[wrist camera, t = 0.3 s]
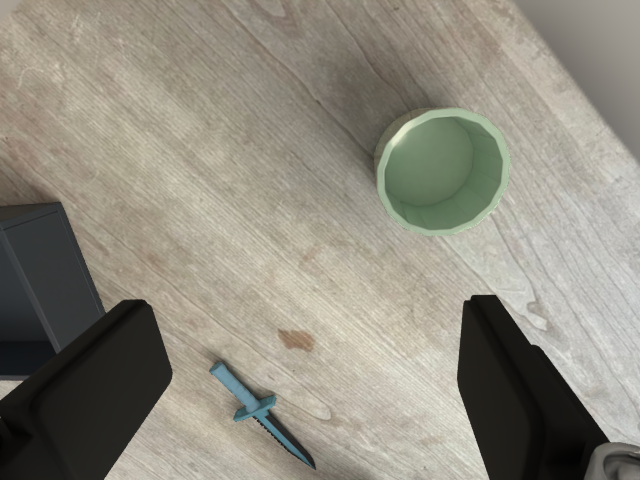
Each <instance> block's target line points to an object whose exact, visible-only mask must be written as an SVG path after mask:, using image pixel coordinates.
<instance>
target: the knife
mask: <svg viewBox="0 0 640 480" xmlns="http://www.w3.org/2000/svg"><path fill="white" fill-rule="evenodd" d="M209 372H210V373H211V374H212V375H214V376H215V377H216V378H217V379H218V380H219V381H220V382H221V383H222V384H224V386H225V387H226V388H227V389H228V390H230V392H231V393H232V394H234V395H235V396H236V397H237V398H238V399H239V400H240V401H241V402H242V403H243V404H244V405H245V407H243V408H242V409H240V410H238V411H236V413H235V416H234V418H233V420H234V421H235V422H237V421H241V420H245V419H247V418H249V417H253V418H254V419H255V420H256V419H258V420H257V422H258V423H260V425H261V426H264V429H268V430H267V431H268V432H269V433H271V435H272V436H274V438H275V439H276V440H277V441H278V442H279V443H281V445H282V446H284V448H285V449H286V450H287V451H288V452H289V453H291V454H292V455H294V456H295V457H297V458H298V459H300V460H301V461H303V462H304V463H306V464H307V465H309V466H310V467H312V468H313V469H315V470H316V468H315V464H314V462H313V459H312V458H311V456H310V455H309V454H308V453H307V452H306V451H305V450H304V449H303V448H302V447H301V446H300V445H299V444H298V443H297V442H296V441H295V440H294V439H293V438H292V437H291V436H290V435H289V434H288V433H287V432H286V431H285V430H284V429H283V428H282V427H281V425H280V424H279V423H278V422H277V421H276V420H275V419H274V418H273V417H272V416H271V415H270V414H269V412H268V411H267V410H268V409H270V408H271V407H273V406H275V402H276V397H275V396H271V397H267V398H264V399H262V400H259V401H258V400H257V399H256V398H255V397H254V396H253V395H252V394H251V393H250V392H249V391H248V390H247V389H246V388H245V387H244V386H243V385H242V384H241V383H240V382H239V381H238V380H237V379H236V378H235V377H234V376H233V375H232V374H231V373H230V372H229V371H228V370H227V369H226V366H225V365H224V364H223V363H221V362H219V363H217V364H215V365H214V366H212V367H211V368H210V370H209Z"/></svg>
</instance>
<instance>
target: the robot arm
mask: <svg viewBox="0 0 640 480" xmlns="http://www.w3.org/2000/svg"><path fill="white" fill-rule="evenodd" d="M172 375H173V372H172V368H171V365H170V362H169V359H168V355H167V352H166V349H165V346H164V343H163V340H162V337H161V334H160V331H159V328H158V325H157V322H156V319H155V315H154V312H153V309H152V307H151V306H150V305H149V304H147V302H146V301H145V300H142V299H135V300H123V301H121V302H120V303H118V304H117V305H116V306H115V307H114V308H112V309H111V310H110V311H109V312H108V313H106V314H105V315H104V316H103V317H101V318H100V319H99V320H98V321H97V322H95V323H94V324H93V325H92V326H90V327H89V328H88V329H87V330H86V331H84V332H83V333H82V334H81V335H79V336H78V337H77V338H76V339H75V340H73V341H72V342H71V343H70V344H69V345H67V346H66V347H65V348H64V349H62V350H61V351H60V352H59V353H58V354H56V355H55V356H54V357H53V358H51V359H50V360H49V361H48V362H47V363H45V364H44V365H43V366H42V367H40V368H39V369H38V370H37V371H36V372H34V373H33V374H32V375H31V376H29V377H28V378H27V379H26V380H25V381H23V382H22V383H21V384H20V385H19V386H17V387H16V388H15V389H14V390H12V391H11V392H10V393H9V394H8V395H6V396H5V397H4V398H3V399H1V400H0V417H1V418H0V480H104V478H105V477H106V476H107V474H108V473H109V471H110V470H111V468H112V467H113V465H114V464H115V462H116V461H117V460H118V458H119V457H120V455H121V454H122V452H123V451H124V449H125V448H126V446H127V445H128V443H129V442H130V441H131V439H132V438H133V436H134V435H135V433H136V432H137V430H138V429H139V427H140V426H141V425H142V423H143V422H144V420H145V419H146V417H147V416H148V414H149V413H150V411H151V410H152V409H153V407H154V406H155V404H156V403H157V401H158V400H159V398H160V397H161V395H162V394H163V392H164V391H165V390H166V388H167V387H168V385H169V384H170V382H171V379H172ZM457 382H458V388H459V392H460V394H461V397H462V400H463V403H464V406H465V409H466V412H467V415H468V418H469V421H470V424H471V427H472V429H473V432H474V435H475V438H476V441H477V444H478V447H479V450H480V453H481V456H482V459H483V462H484V465H485V467H486V470H487V473H488V476H489V479H490V480H640V447H638V446H636V445H631V444H626V443H621V442H610V441H609V439H608V438H607V437H606V435H605V434H604V433H603V431H602V430H601V429H600V427H599V426H598V424H597V423H596V422H595V420H594V419H593V418H592V416H591V415H590V414H589V412H588V411H587V410H586V408H585V407H584V405H583V404H582V403H581V401H580V400H579V399H578V397H577V396H576V395H575V393H574V392H573V391H572V389H571V388H570V387H569V385H568V384H567V382H566V381H565V380H564V378H563V377H562V376H561V374H560V373H559V372H558V370H557V369H556V368H555V366H554V365H553V363H552V362H551V361H550V359H549V358H548V357H547V355H546V354H545V353H544V351H543V350H542V349H541V348H540V347H539V346H537V345H531V344H530V342H529V341H528V340H527V338H526V337H525V335H524V334H523V333H522V331H521V330H520V328H519V327H518V326H517V324H516V323H515V321H514V320H513V318H512V317H511V316H510V314H509V313H508V311H507V310H506V309H505V307H504V306H503V304H502V303H501V301H500V300H499V299H498V297H497V296H496V295H472V296H471V299H470V300H465V301H464V304H463V315H462V326H461V338H460V349H459V361H458V372H457Z"/></svg>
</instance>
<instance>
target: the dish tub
mask: <svg viewBox="0 0 640 480" xmlns="http://www.w3.org/2000/svg"><path fill="white" fill-rule="evenodd" d="M105 314H106V313H105V311H104V308H103V306H102V303H101V301H100V298H99V296H98V293H97V291H96V288H95V286H94V283H93V281H92V278H91V276H90V273H89V271H88V268H87V266H86V263H85V261H84V258H83V256H82V253H81V251H80V248H79V246H78V244H77V241H76V239H75V236H74V234H73V231H72V229H71V226H70V224H69V221H68V219H67V216H66V214H65V211H64V209H63V206H62V204H61V202H55V203H42V204H29V205H15V206H2V207H0V380H11V381H25V380H26V379H27V378H28V377H29V376H31V375H32V374H33V373H34V372H36V371H37V370H38V369H39V368H40V367H42V366H43V365H44V364H45V363H47V362H48V361H49V360H50V359H51V358H53V357H54V356H55V355H56V354H58V353H59V352H60V351H61V350H62V349H64V348H65V347H66V346H67V345H69V344H70V343H71V342H72V341H73V340H75V339H76V338H77V337H78V336H79V335H81V334H82V333H83V332H84V331H86V330H87V329H88V328H89V327H90V326H92V325H93V324H94V323H95V322H97V321H98V320H99V319H100V318H101V317H103V316H104V315H105Z"/></svg>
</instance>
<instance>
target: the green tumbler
mask: <svg viewBox="0 0 640 480" xmlns="http://www.w3.org/2000/svg"><path fill="white" fill-rule="evenodd" d="M510 158H511V157H510V154H509V151H508V148H507V145H506V142H505V139H504V136H503V134H502V133H501V132H500V131H499V130H498V129H497V128H496V127H495V126H494V125H493V124H492V123H491V122H490V121H489V120H488V119H487V118H486V117H485V116H483V115H480V114H477V113H474V112H471V111H468V110H465V109H462V108H458V107H430V108H421V109H415V110H413V111H410V112H408V113H406V114H404V115H402V116H400V117H399V118H397V119H396V120H395V121H394V122H392V123H391V124H390V125H389V127H388V128H387V129H386V130H385V131H384V133H383V134H382V136H381V137H380V139H379V142H378V144H377V147H376V150H375V154H374V176H375V181H376V187H377V192H378V195H379V197H380V200H381V202H382V204H383V206H384V208H385V210H386V212H387V214H388V215H389V216H390V217H391V218H392V219H394V220H395V221H396V222H397V223H398V224H400V225H401V226H402V227H403V228H404V229H406V230H409V231H412V232H415V233H418V234H422V235H425V236H445V235H453V234H456V233H458V232H461V231H463V230H466V229H468V228H470V227H473V226H475V225H477V224H478V223H479V222H480V221H481V220H482V219H483V218H485V217H486V216H487V215H488V214H489V213H490V212H491V211H493V210H494V209H495V207H496V206H497V204H498V202H499V200H500V199H501V197H502V195H503V193H504V191H505V189H506V188H507V186H508V181H509V172H510V163H511V159H510Z"/></svg>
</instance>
